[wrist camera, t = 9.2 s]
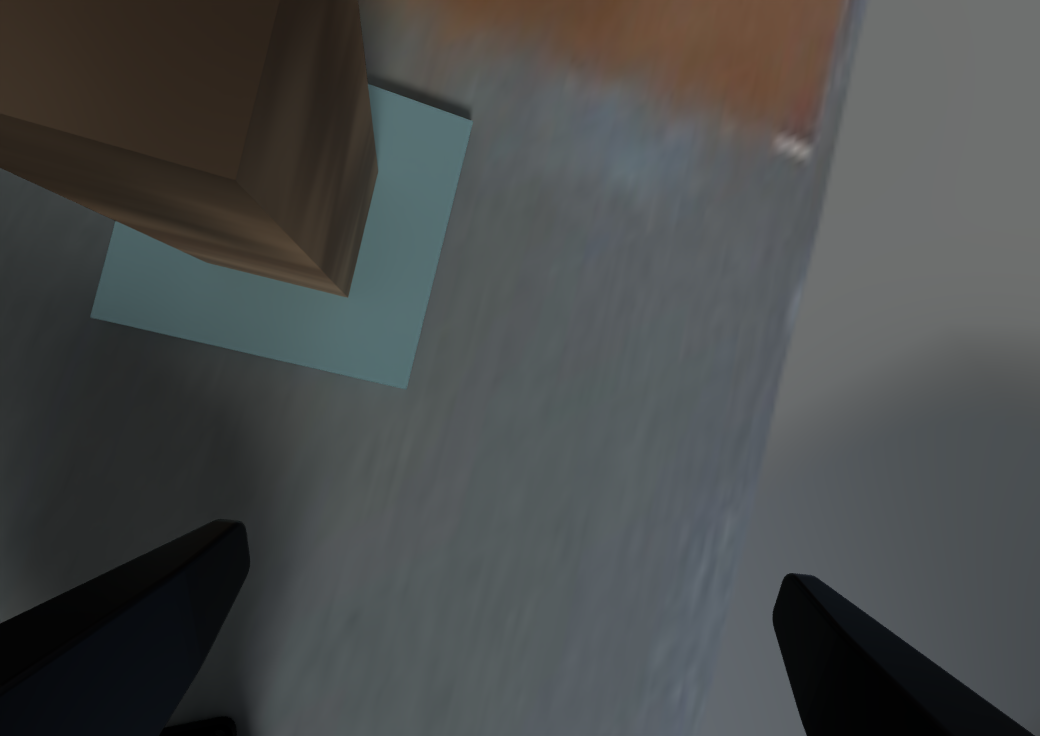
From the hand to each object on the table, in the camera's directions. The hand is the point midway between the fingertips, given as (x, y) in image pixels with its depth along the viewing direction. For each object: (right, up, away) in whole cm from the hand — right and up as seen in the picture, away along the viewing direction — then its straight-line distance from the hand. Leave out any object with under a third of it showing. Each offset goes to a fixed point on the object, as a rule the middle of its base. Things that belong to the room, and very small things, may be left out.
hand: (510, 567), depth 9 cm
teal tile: (-8, +9, +11) cm, 17 cm away
